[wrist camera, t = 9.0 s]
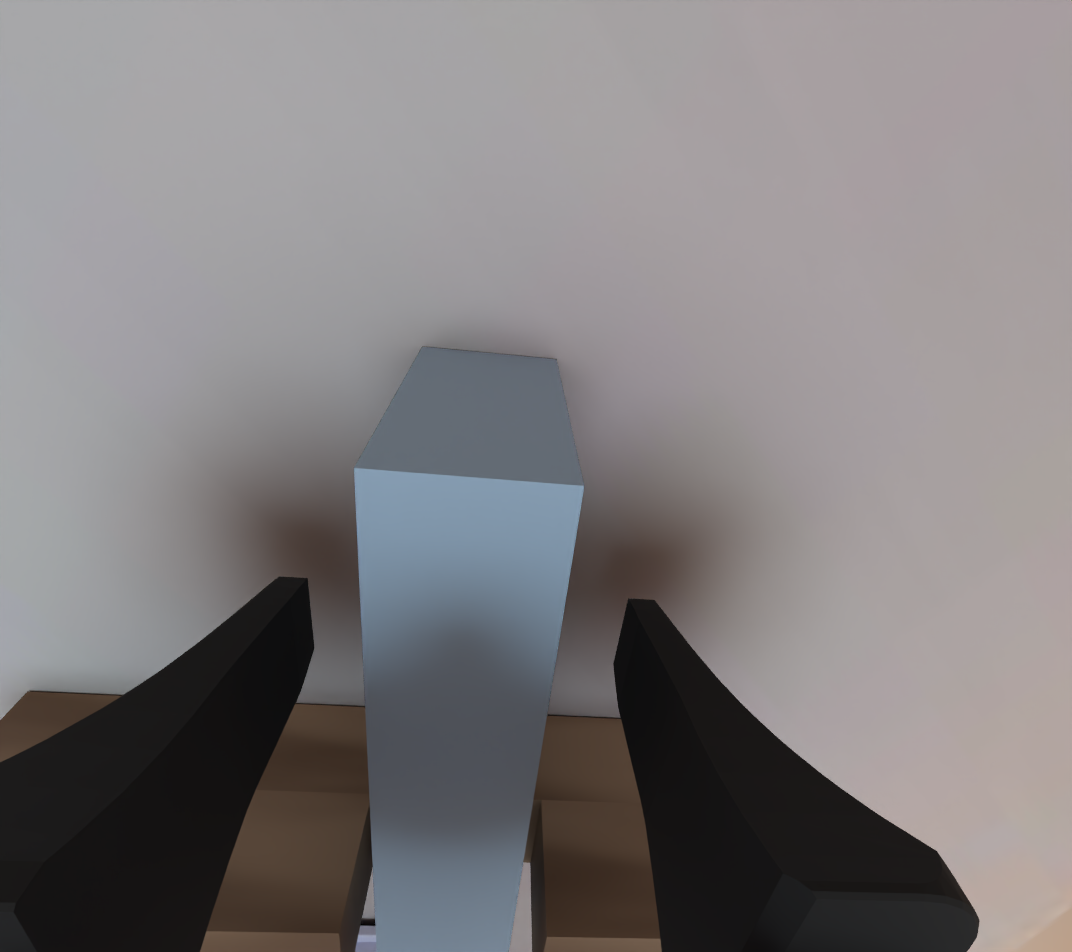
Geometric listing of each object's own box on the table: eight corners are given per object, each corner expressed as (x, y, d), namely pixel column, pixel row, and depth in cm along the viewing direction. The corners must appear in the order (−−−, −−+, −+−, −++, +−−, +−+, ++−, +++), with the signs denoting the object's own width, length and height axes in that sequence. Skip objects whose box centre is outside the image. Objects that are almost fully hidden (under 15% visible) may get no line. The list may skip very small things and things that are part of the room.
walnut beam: (662, 780, 20) (715, 1000, 15) (56, 757, 18) (-132, 993, 13) (681, 721, 19) (748, 940, 13) (27, 691, 17) (-194, 924, 12)
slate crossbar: (498, 835, 21) (491, 1056, 16) (415, 832, 21) (381, 1056, 16) (556, 358, 13) (584, 486, 8) (422, 346, 13) (354, 468, 7)
